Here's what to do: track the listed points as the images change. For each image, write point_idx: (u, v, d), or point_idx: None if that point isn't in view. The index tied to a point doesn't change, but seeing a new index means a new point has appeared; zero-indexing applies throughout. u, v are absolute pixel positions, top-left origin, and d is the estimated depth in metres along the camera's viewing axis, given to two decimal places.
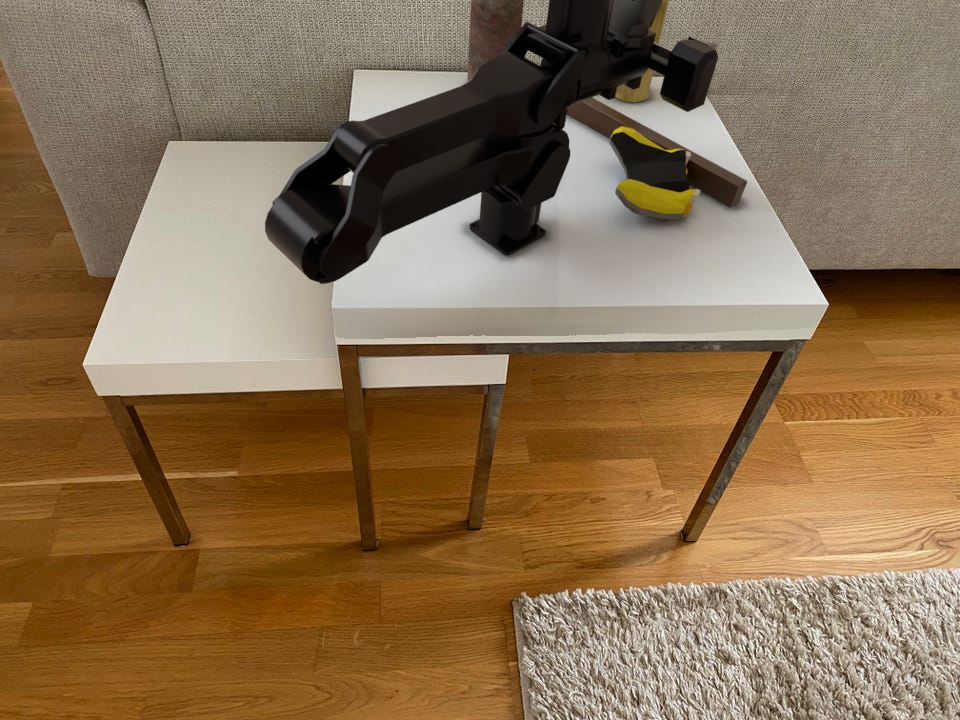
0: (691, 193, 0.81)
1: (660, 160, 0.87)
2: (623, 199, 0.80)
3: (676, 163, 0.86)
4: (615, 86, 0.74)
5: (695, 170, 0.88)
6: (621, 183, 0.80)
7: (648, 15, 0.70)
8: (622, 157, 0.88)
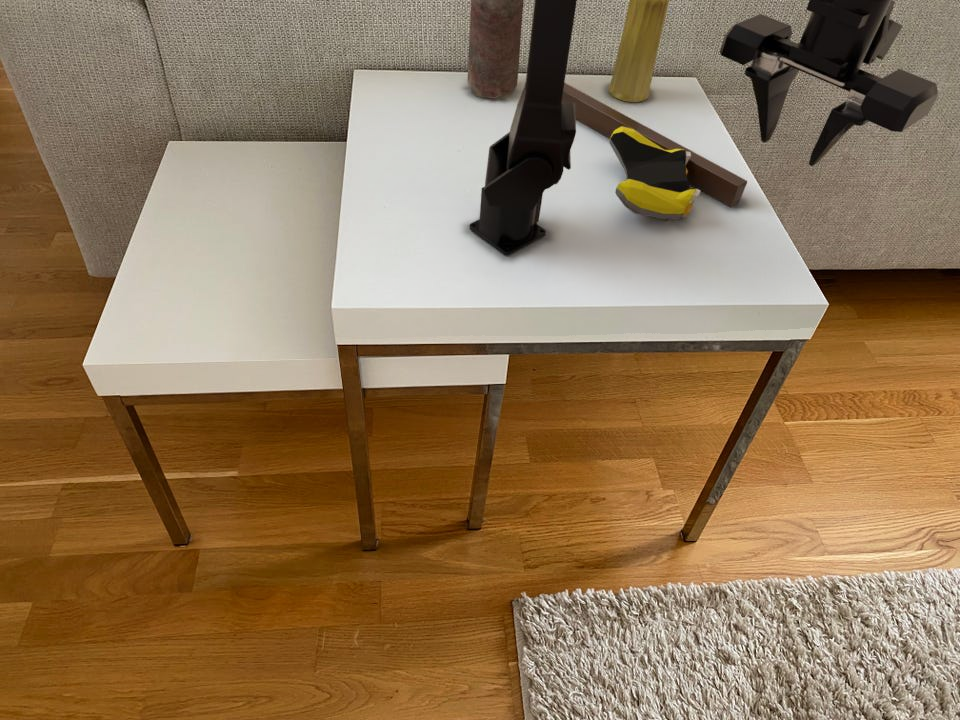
0: (691, 193, 0.81)
1: (660, 160, 0.87)
2: (623, 199, 0.80)
3: (676, 163, 0.86)
4: (867, 21, 0.59)
5: (695, 170, 0.88)
6: (621, 183, 0.80)
7: None
8: (622, 157, 0.88)
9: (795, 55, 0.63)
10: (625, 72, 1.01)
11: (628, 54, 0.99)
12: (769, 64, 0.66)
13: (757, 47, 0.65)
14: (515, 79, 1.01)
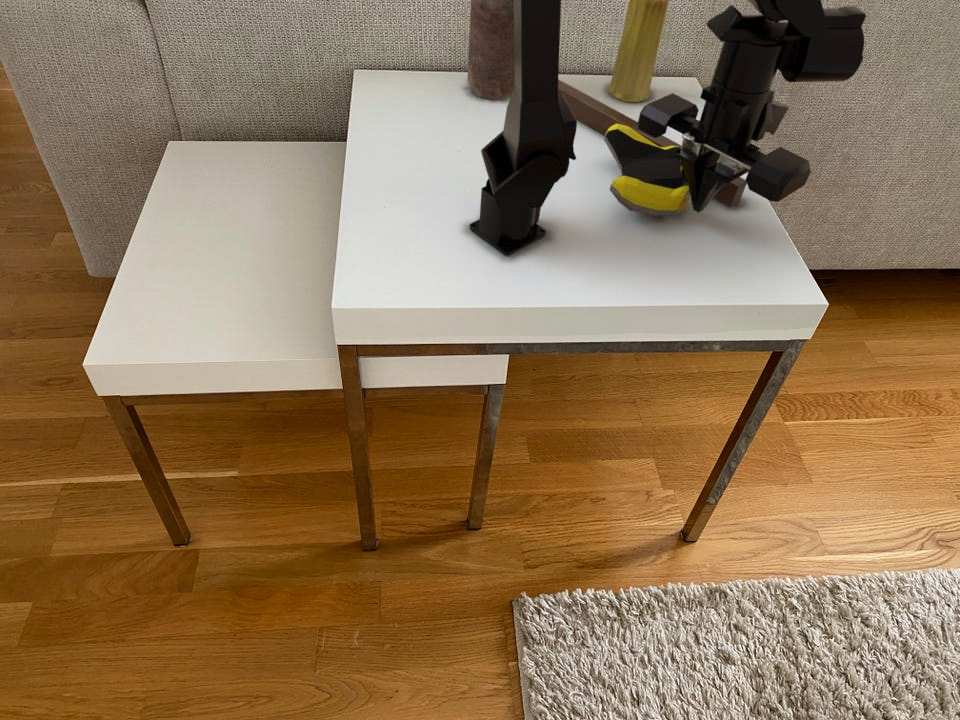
0: (686, 190, 0.81)
1: (655, 157, 0.88)
2: (618, 196, 0.80)
3: (671, 160, 0.86)
4: (748, 110, 0.70)
5: None
6: (616, 180, 0.80)
7: (772, 119, 0.76)
8: (617, 154, 0.88)
9: (694, 133, 0.75)
10: (625, 72, 1.01)
11: (628, 54, 0.99)
12: (695, 148, 0.76)
13: (665, 124, 0.77)
14: None
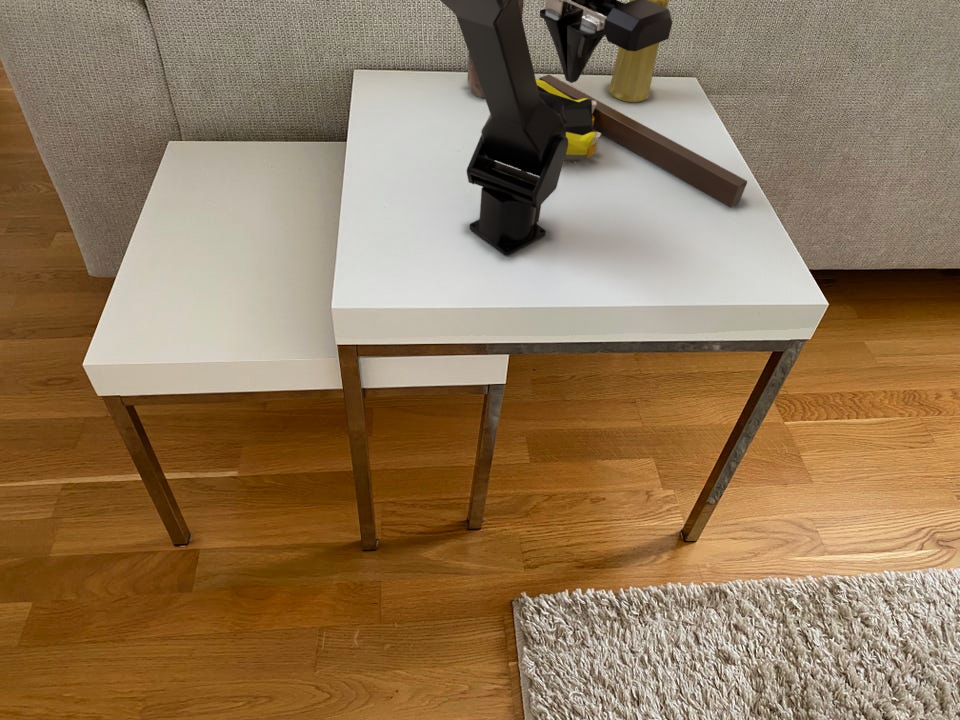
0: (592, 135, 0.89)
1: (569, 109, 0.95)
2: None
3: (582, 110, 0.93)
4: None
5: (695, 170, 0.88)
6: None
7: None
8: None
9: None
10: (625, 72, 1.01)
11: (628, 54, 0.99)
12: (557, 5, 0.73)
13: None
14: None
